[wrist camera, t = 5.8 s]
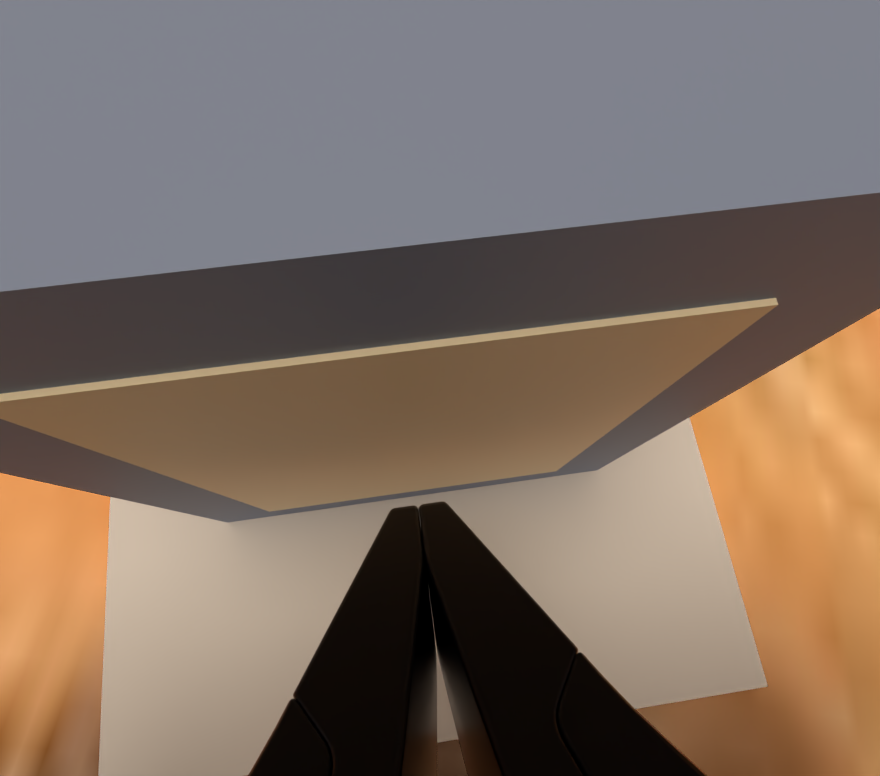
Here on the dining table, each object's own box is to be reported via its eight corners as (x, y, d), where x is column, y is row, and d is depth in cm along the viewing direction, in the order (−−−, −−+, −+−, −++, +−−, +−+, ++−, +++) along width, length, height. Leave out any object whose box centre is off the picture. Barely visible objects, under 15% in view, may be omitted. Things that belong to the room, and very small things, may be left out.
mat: (758, 683, 14) (768, 686, 13) (106, 793, 13) (97, 800, 12) (560, -5, 21) (563, -15, 21) (136, 32, 20) (130, 21, 20)
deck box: (597, 472, 15) (1136, 174, 4) (227, 525, 14) (-549, 365, 3) (578, 388, 16) (970, -85, 4) (225, 433, 15) (-399, 26, 4)
